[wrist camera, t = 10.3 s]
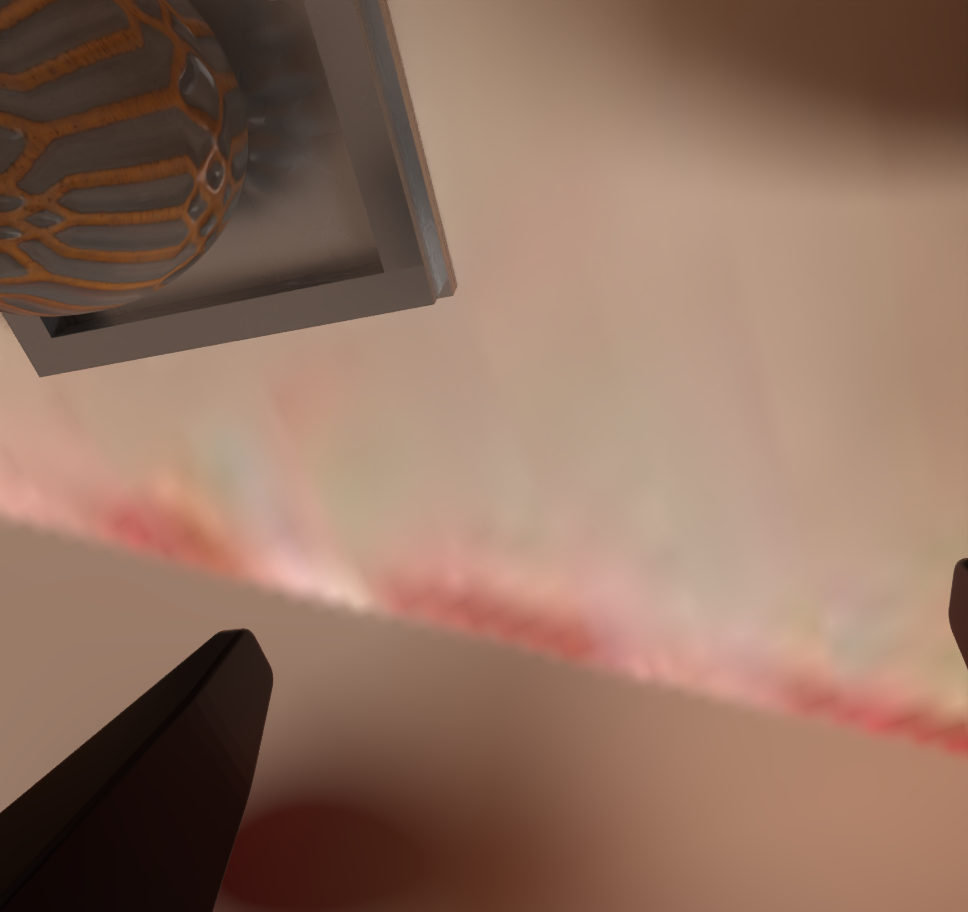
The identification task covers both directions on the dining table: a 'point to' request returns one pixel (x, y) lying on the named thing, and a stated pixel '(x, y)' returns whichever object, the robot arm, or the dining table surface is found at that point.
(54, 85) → the vase
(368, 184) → the grey square tray
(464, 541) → the dining table surface
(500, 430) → the dining table surface
